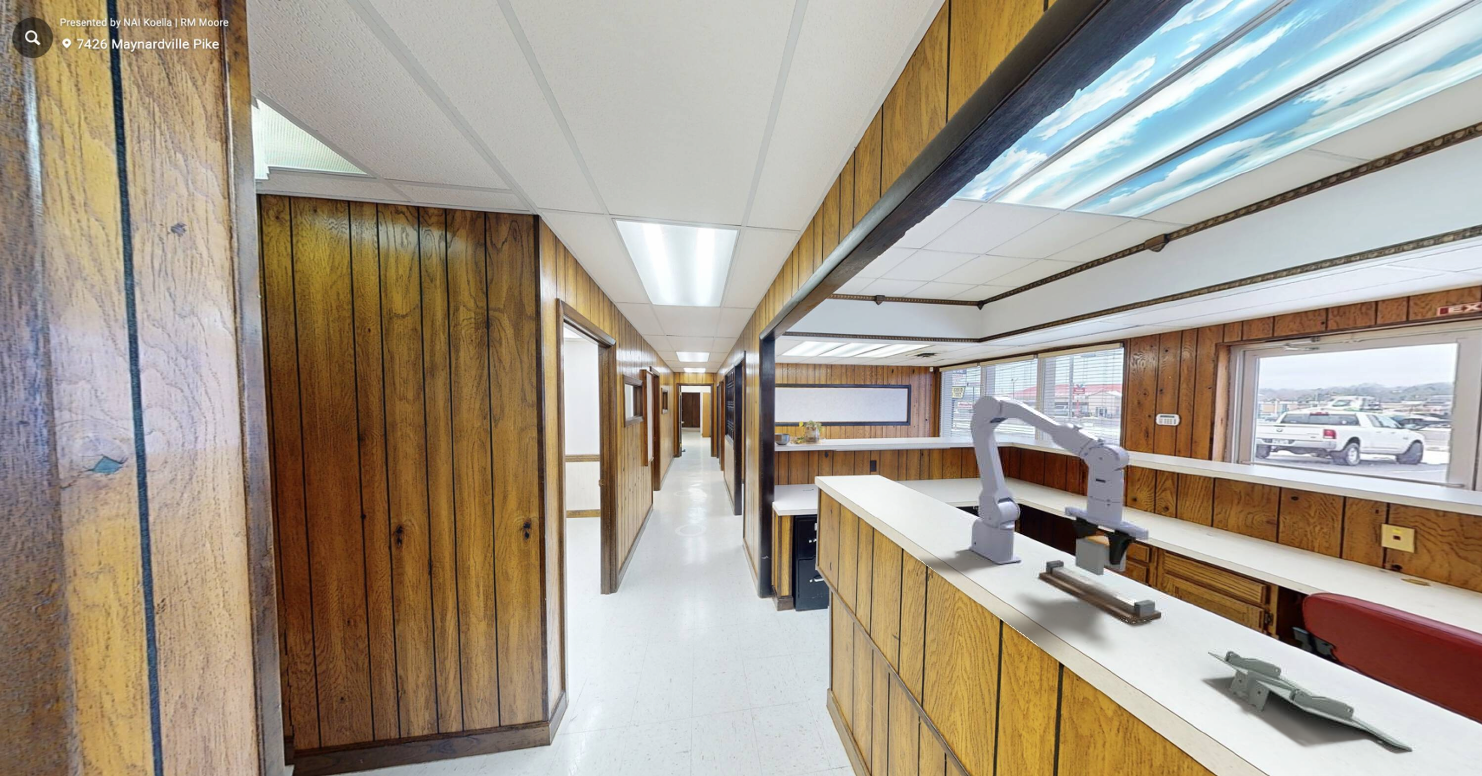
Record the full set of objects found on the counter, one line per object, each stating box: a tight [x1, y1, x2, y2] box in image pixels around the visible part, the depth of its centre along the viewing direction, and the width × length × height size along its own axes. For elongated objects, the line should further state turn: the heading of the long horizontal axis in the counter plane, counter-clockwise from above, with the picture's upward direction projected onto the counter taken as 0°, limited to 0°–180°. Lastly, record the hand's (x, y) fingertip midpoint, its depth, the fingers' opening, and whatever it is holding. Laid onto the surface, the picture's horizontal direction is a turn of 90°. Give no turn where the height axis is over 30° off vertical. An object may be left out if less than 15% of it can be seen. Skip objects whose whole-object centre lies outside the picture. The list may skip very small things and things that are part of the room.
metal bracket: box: [1207, 650, 1413, 752], centre depth 58 cm, size 14×6×15 cm
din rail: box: [1045, 559, 1156, 617], centre depth 85 cm, size 18×4×2 cm, turn 15°
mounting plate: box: [1038, 571, 1162, 624], centre depth 86 cm, size 18×9×1 cm, turn 15°
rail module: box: [1074, 535, 1127, 577], centre depth 84 cm, size 4×8×6 cm, turn 105°
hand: (1101, 558), depth 84 cm, fingers closed on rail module, 4 cm apart
